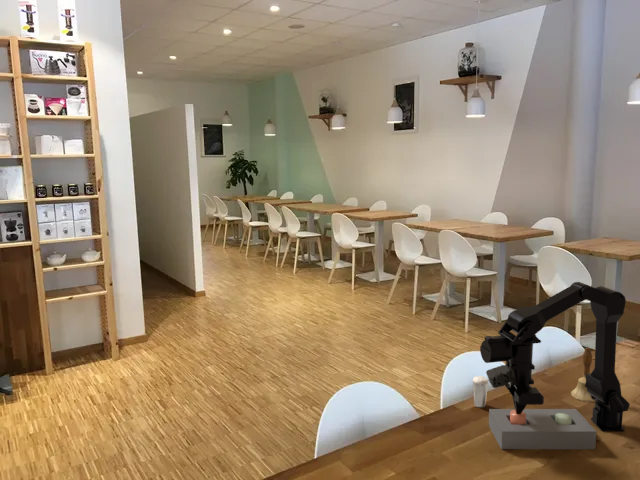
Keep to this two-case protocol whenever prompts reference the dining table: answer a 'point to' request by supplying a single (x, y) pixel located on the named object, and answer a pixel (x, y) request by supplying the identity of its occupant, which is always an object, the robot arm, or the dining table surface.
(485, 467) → the dining table surface
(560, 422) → the sage plug
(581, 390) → the hand bell
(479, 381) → the milkshake
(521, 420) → the terracotta plug
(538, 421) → the console
